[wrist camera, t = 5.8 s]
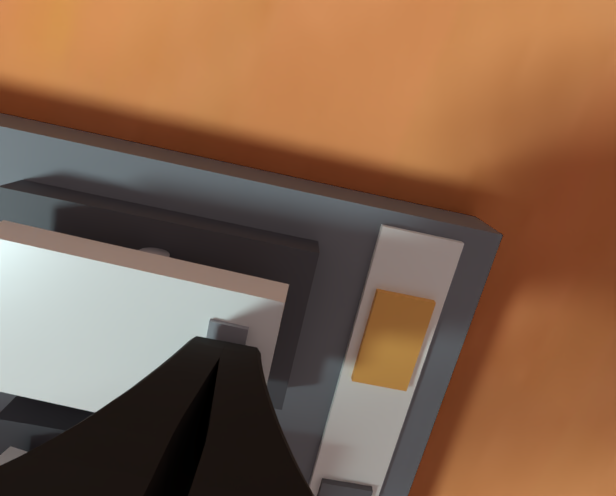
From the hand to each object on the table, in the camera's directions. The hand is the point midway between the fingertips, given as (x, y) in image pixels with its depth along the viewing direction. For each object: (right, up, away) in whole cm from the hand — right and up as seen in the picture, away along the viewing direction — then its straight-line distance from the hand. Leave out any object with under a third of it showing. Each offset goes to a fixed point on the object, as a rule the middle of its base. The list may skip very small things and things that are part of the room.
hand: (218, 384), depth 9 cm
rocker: (-2, +1, +1) cm, 3 cm away
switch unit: (-4, -4, +7) cm, 9 cm away
